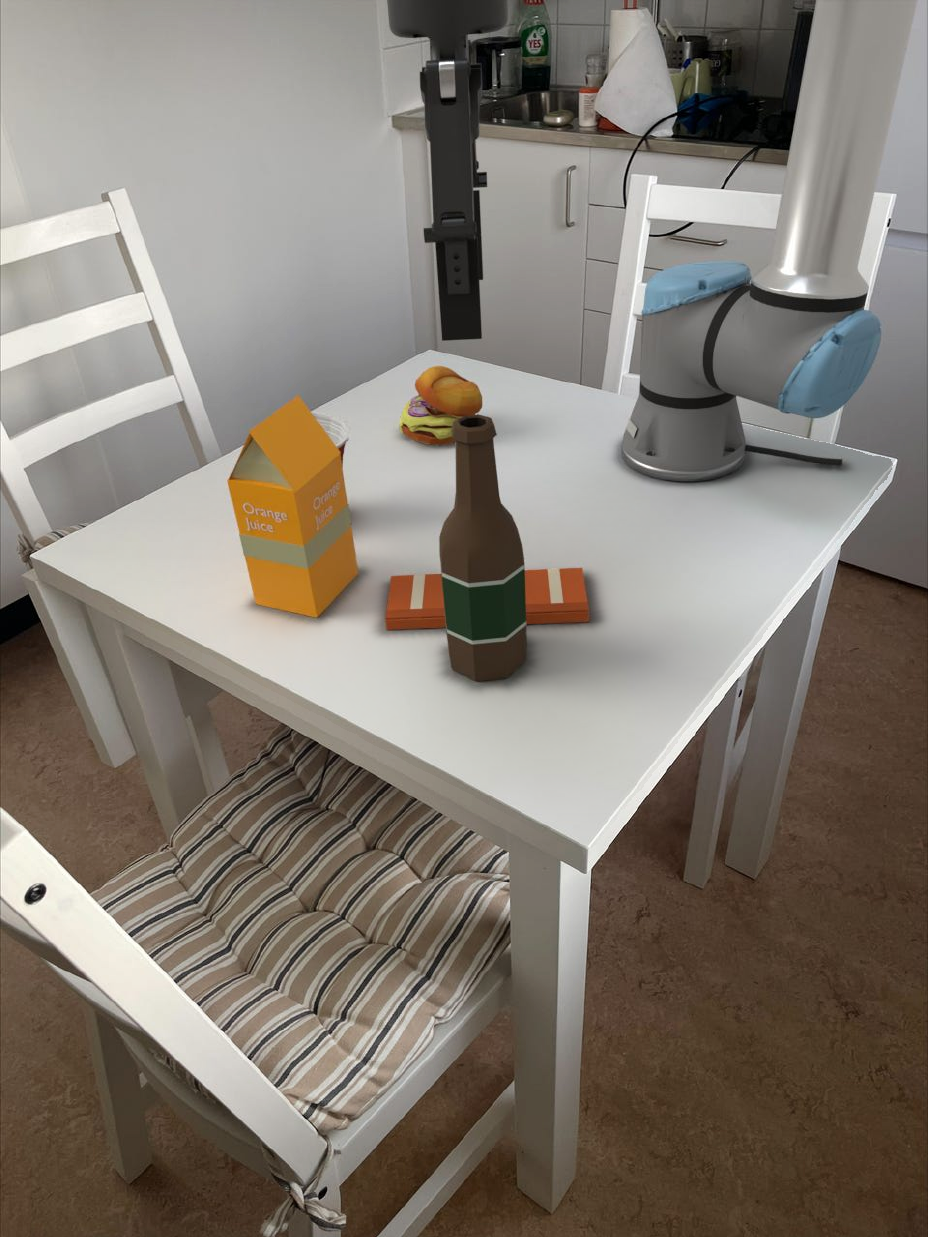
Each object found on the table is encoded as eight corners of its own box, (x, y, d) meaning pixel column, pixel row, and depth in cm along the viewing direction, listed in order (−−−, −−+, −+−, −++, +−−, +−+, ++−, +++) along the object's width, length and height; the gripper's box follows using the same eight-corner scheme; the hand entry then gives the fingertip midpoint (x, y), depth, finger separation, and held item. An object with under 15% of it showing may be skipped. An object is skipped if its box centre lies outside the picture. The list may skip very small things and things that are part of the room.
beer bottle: (470, 694, 85) (451, 451, 71) (432, 649, 91) (408, 415, 77) (544, 665, 88) (540, 425, 74) (502, 623, 93) (492, 393, 79)
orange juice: (254, 604, 99) (212, 426, 87) (299, 560, 105) (265, 390, 94) (318, 618, 96) (284, 437, 84) (360, 573, 102) (334, 398, 91)
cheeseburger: (404, 416, 135) (415, 349, 129) (477, 433, 135) (491, 367, 129) (390, 446, 127) (401, 377, 121) (468, 465, 127) (483, 396, 121)
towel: (581, 576, 99) (582, 565, 98) (588, 622, 93) (589, 610, 92) (392, 584, 100) (391, 573, 99) (386, 630, 94) (384, 618, 93)
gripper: (399, -43, 68) (423, 261, 80) (361, -33, 48) (400, 371, 60) (504, -50, 68) (511, 257, 80) (509, -43, 47) (518, 365, 60)
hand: (464, 306), depth 70 cm, fingers open, 13 cm apart
